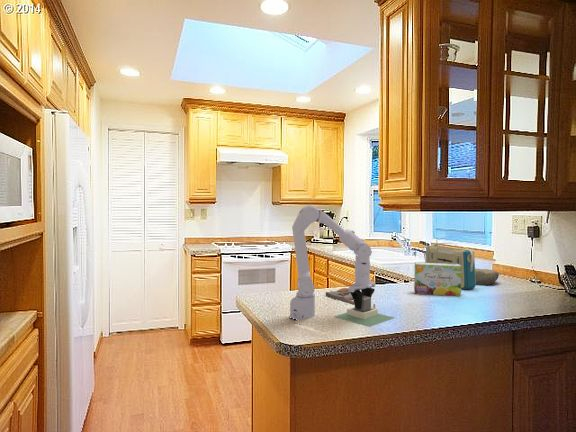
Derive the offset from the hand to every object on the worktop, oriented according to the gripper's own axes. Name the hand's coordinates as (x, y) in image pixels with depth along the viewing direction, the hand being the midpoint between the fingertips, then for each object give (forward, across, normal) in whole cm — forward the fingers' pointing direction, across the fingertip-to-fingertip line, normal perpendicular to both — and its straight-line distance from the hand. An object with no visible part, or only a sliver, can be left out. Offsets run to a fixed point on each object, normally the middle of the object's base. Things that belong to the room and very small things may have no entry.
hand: (362, 307), depth 159 cm
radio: (+4, +84, +6) cm, 85 cm away
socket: (+3, 0, 0) cm, 3 cm away
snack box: (+4, +59, 0) cm, 59 cm away
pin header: (+3, +5, 0) cm, 6 cm away
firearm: (+5, +20, +20) cm, 29 cm away
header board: (+4, -2, -2) cm, 5 cm away
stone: (+4, +102, -5) cm, 102 cm away
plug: (+2, 0, 0) cm, 2 cm away
